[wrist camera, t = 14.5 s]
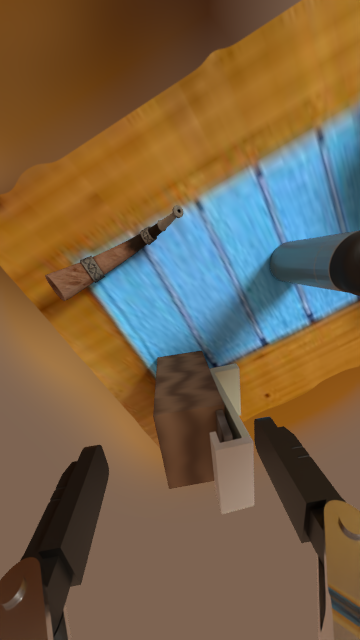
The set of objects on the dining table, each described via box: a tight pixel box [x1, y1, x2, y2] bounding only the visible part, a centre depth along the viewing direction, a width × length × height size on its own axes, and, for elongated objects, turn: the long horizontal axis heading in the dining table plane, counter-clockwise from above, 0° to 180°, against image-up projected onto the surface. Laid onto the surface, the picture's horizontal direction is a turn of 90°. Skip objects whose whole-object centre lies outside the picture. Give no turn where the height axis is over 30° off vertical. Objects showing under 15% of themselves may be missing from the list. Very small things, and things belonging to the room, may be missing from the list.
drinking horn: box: [45, 205, 183, 301], centre depth 38 cm, size 6×30×10 cm, turn 119°
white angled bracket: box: [209, 364, 254, 514], centre depth 39 cm, size 12×14×20 cm
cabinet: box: [153, 351, 233, 489], centre depth 42 cm, size 12×18×25 cm, turn 7°
